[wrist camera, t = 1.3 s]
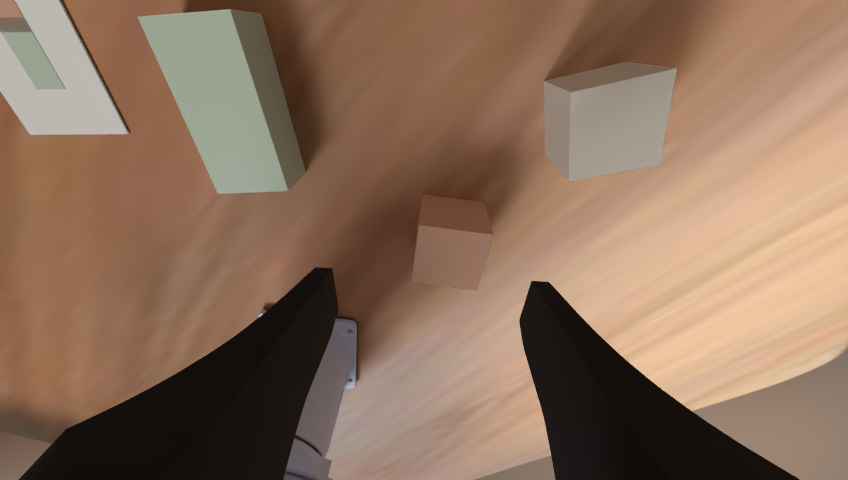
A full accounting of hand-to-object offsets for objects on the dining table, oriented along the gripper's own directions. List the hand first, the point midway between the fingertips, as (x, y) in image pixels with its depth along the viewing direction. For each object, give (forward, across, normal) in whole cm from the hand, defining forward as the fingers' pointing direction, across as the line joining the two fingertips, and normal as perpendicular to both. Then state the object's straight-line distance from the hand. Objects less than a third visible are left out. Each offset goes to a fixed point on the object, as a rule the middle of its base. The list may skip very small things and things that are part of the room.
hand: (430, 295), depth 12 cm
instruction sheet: (+10, +21, -6) cm, 24 cm away
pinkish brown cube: (+10, -1, +3) cm, 10 cm away
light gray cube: (+10, -8, -5) cm, 13 cm away
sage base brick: (+10, +10, -4) cm, 15 cm away
